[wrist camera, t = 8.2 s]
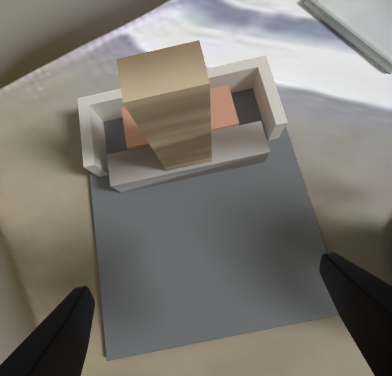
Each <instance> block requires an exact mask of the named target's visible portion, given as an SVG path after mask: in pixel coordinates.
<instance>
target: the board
mask: <svg viewBox="0 0 392 376" xmlns="http://www.w3.org/2000/svg"><path fill="white" fill-rule="evenodd" d="M231 95H232V99H233V103H234V106H235V110H236V114H237V117H238V121H239V125H244V124H248V123H253V122H257V121H261V122H262V125H263V129H264V132H265V135H266V139H267V142H268V145H269V149H270V153H269V155H268V157H267V158H266V160H265V162H262V163H257V164H252V165H248V166H243V167H238V168H234V169H229V170H225V171H220V172H215V173H211V174H206V175H201V176H197V177H192V178H187V179H183V180H178V181H174V182H169V183H164V184H160V185H155V186H150V187H146V188H141V189H137V190H132V191H127V192H123V193H121V192H119V191H117V190H116V189H114V188H112V187H110V179H109V175H106V176H102V177H99V176H97V175H96V174H94V173H92V172H91V171H89V174H90V185H91V196H92V206H93V217H94V228H95V239H96V249H97V260H98V271H99V282H100V292H101V303H102V314H103V325H104V335H105V346H106V357H107V361H109V360H114V359H119V358H124V357H129V356H134V355H139V354H145V353H150V352H155V351H160V350H165V349H170V348H175V347H180V346H185V345H190V344H195V343H200V342H205V341H210V340H215V339H220V338H225V337H230V336H235V335H240V334H245V333H250V332H255V331H260V330H265V329H270V328H275V327H280V326H285V325H290V324H295V323H300V322H305V321H310V320H316V319H321V318H326V317H331V316H336V315H339V314H338V312H337V310H336V307H335V305H334V303H333V301H332V299H331V297H330V295H329V292H328V290H327V288H326V286H325V284H324V282H323V279H322V277H321V275H320V272H319V266H320V261H321V256H322V254H323V253H327V251H326V247H325V244H324V241H323V238H322V235H321V232H320V229H319V226H318V223H317V220H316V217H315V214H314V211H313V208H312V205H311V202H310V199H309V196H308V193H307V190H306V187H305V184H304V181H303V178H302V175H301V172H300V169H299V166H298V162H297V159H296V156H295V153H294V150H293V147H292V144H291V141H290V138H289V135H288V132H287V129H286V126H285V128H284V130H283V131H282V133H281V135H280V136H279V138H276V139H271V140H268V137H267V134H266V130H265V127H264V124H263V121H262V117H261V114H260V111H259V107H258V104H257V101H256V98H255V94H254V91H253V88H251V89H247V90H242V91H238V92H233V93H231ZM103 123H104V132H105V140H106V149H107V154H112V153H117V152H121V151H126V150H128V149H127V145H126V138H125V131H124V124H123V117H122V118H117V119H113V120H108V121H104V122H103Z"/></svg>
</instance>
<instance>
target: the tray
mask: <svg viewBox="0 0 392 376" xmlns="http://www.w3.org/2000/svg"><path fill="white" fill-rule="evenodd" d="M206 70H207V74H208V78H209V82H210V88H215V87H219V86H224V85H229V88H230V92H231V93H233V92H238V91H242V90H247V89H251V88H253V91H254V94H255V98H256V101H257V104H258V107H259V111H260V114H261V117H262V121H263V124H264V127H265V130H266V134H267V137H268V140H271V139H276V138H279V136H280V135H281V133H282V131H283V130H284V128H285V126H286V125H287V123H288V121H287V118H286V115H285V112H284V109H283V106H282V103H281V100H280V97H279V94H278V91H277V88H276V85H275V82H274V79H273V76H272V73H271V70H270V67H269V64H268V61H267V58H266V56H262V57H258V58H253V59H249V60H244V61H240V62H235V63H231V64H227V65H222V66H218V67H213V68H209V69H206ZM121 108H126V107H125V106H124V104H123V101H122V94H121V89H116V90H112V91H108V92H103V93H99V94H94V95H90V96H86V97H81V98H78V110H79V121H80V133H81V144H82V156H83V167H84V168H86V169H87V170H89V171H91V172H92V173H94V174H96V175H97V176H99V177H102V176H106V175H109V170H108V161H107V149H106V140H105V132H104V123H103V122H104V121H108V120H113V119H117V118H122V117H123V116H122V109H121Z"/></svg>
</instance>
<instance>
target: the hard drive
mask: <svg viewBox="0 0 392 376" xmlns="http://www.w3.org/2000/svg"><path fill="white" fill-rule="evenodd" d="M304 5H305V6H306V7H307V8H308V9H310V10H311V11H312V12H313V13H315V14H316V15H317V16H318V17H319V18H321V19H322V20H323V21H324V22H326V23H327V24H328V25H329V26H331V27H332V28H333V29H334V30H335V31H337V32H338V33H339V34H340V35H342V36H343V37H344V38H345V39H347V40H348V41H349V42H350V43H352V44H353V45H354V46H355V47H357V48H358V49H359V50H360V51H361V52H363V53H364V54H365V55H366V56H368V57H369V58H370V59H371V60H373V61H374V62H375V63H376V64H378V65H379V66H380V67H381V68H382V69H384V70H385V71H386V72H387V73H389V74H391V73H392V0H306V1H305V3H304Z"/></svg>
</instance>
